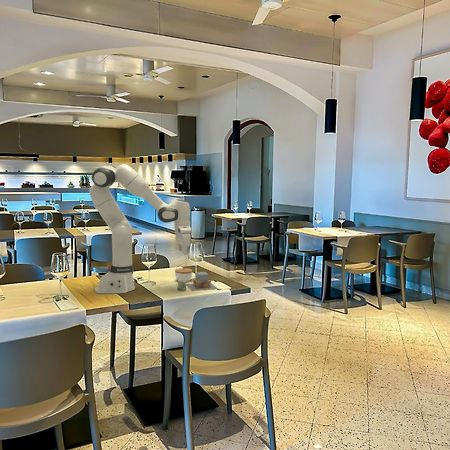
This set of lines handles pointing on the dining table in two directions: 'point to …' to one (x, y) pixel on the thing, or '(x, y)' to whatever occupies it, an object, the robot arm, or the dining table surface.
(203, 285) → the block
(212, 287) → the mat
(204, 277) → the tower top
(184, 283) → the olive green cylinder
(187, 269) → the lidded jar
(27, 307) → the dining table surface
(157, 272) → the dining table surface
